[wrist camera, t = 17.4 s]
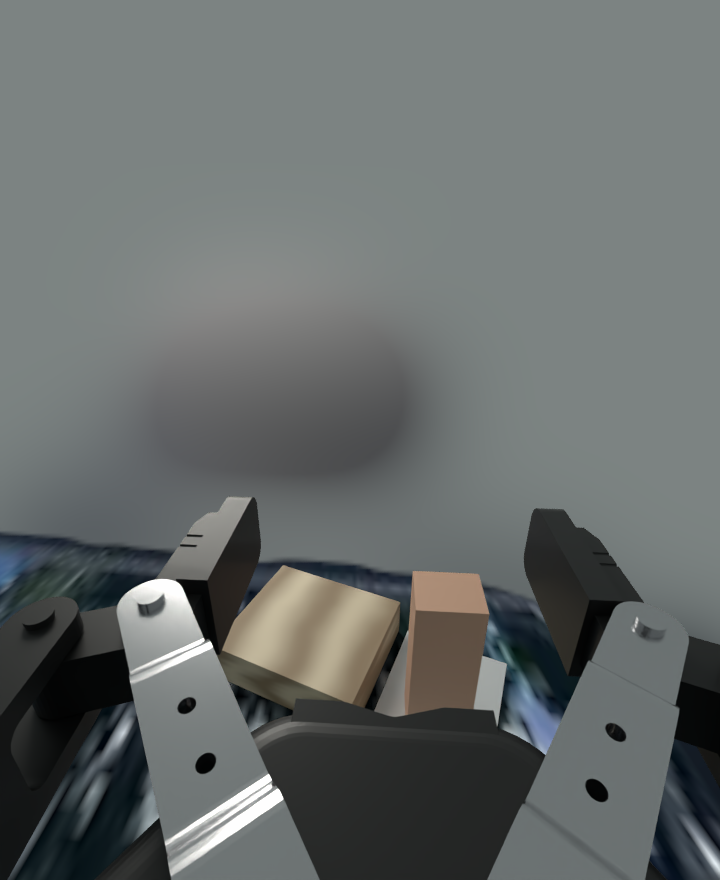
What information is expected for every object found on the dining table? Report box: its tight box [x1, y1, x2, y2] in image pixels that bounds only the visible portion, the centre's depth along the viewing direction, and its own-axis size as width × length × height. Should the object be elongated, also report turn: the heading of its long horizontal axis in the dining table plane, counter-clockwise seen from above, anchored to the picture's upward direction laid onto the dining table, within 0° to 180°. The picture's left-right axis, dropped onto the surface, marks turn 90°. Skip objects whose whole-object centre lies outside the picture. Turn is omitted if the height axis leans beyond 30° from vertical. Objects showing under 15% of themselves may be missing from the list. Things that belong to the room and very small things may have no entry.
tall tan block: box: [404, 571, 489, 715], centre depth 35 cm, size 5×4×14 cm
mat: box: [374, 631, 507, 726], centre depth 38 cm, size 10×16×1 cm, turn 157°
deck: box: [217, 566, 400, 710], centre depth 44 cm, size 14×12×4 cm
